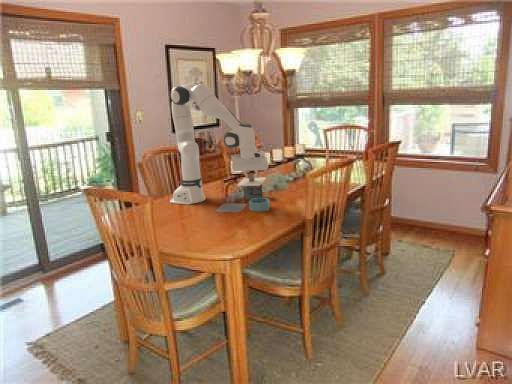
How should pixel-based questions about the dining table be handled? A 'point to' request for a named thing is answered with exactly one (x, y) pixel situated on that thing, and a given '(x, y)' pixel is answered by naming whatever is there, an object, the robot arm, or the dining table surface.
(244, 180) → the cover sheet
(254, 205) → the bowl
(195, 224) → the dining table surface
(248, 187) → the small box
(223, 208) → the mat
